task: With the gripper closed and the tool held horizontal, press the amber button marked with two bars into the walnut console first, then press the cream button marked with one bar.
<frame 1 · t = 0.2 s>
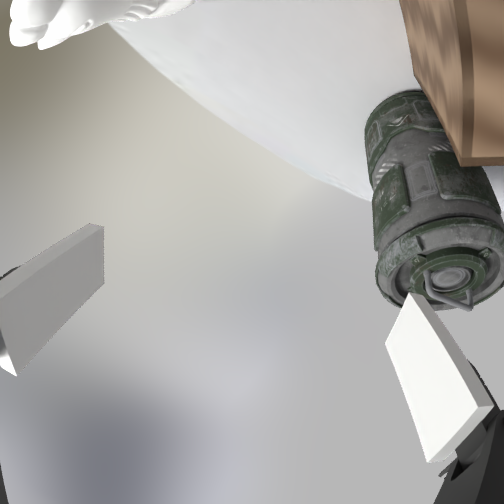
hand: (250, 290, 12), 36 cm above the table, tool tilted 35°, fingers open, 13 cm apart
console: (428, 0, 23), on the table
canister: (412, 133, 40), on the table
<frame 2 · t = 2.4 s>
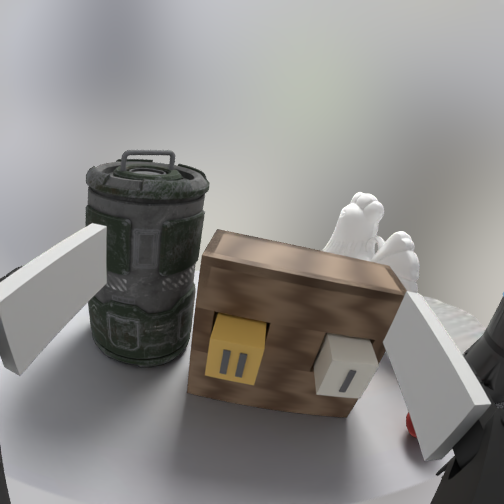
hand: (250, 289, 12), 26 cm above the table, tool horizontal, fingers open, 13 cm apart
onion: (412, 434, 35), on the table
button two: (236, 348, 32), point 11 cm above the table, slide at 0.0 cm
console: (270, 388, 41), on the table
button one: (344, 365, 32), point 11 cm above the table, slide at 0.0 cm
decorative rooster: (345, 316, 63), on the table
canister: (140, 335, 46), on the table
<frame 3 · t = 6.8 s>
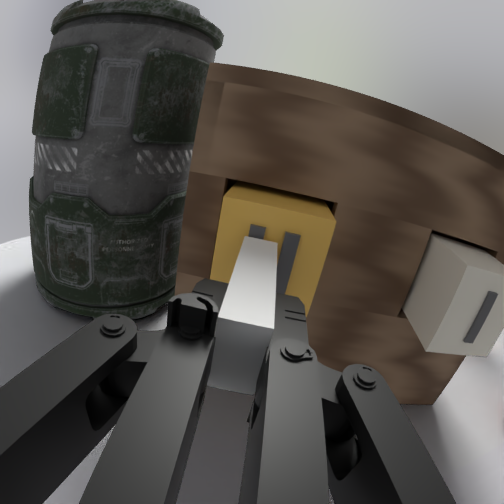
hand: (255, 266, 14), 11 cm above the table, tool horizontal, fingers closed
button two: (270, 243, 17), point 11 cm above the table, slide at 1.5 cm, touching gripper
console: (312, 362, 25), on the table
button one: (461, 296, 16), point 11 cm above the table, slide at 0.0 cm
canister: (108, 282, 30), on the table
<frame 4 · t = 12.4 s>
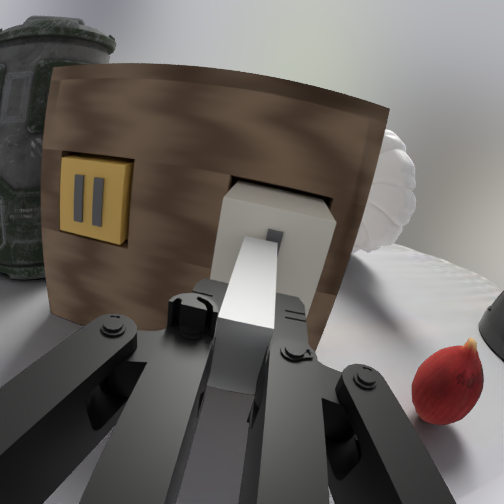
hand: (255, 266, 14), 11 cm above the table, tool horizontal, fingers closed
onion: (422, 419, 20), on the table
button two: (106, 192, 20), point 11 cm above the table, slide at 3.6 cm
console: (177, 323, 26), on the table
button one: (270, 244, 17), point 11 cm above the table, slide at 0.0 cm, touching gripper
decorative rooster: (321, 258, 49), on the table
canister: (35, 252, 32), on the table
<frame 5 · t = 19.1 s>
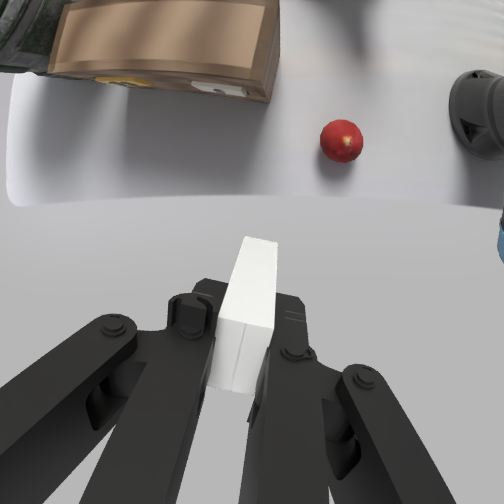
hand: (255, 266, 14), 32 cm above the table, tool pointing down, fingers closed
onion: (336, 140, 42), on the table
button two: (127, 64, 30), point 11 cm above the table, slide at 3.6 cm
console: (200, 67, 39), on the table
button one: (224, 70, 30), point 11 cm above the table, slide at 3.6 cm
canister: (91, 38, 38), on the table
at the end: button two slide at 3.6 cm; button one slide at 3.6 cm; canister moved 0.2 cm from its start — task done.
